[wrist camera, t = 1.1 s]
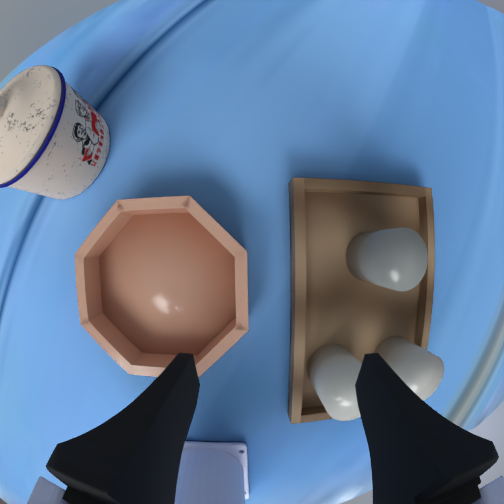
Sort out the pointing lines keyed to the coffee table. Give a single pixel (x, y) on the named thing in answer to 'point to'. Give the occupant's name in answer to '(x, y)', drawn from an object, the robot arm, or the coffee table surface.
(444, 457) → the robot arm
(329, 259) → the tray
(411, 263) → the grey rounded cylinder
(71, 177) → the teacup with lid
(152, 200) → the bowl
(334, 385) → the light stone
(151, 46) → the coffee table surface
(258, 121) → the coffee table surface
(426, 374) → the light stone
